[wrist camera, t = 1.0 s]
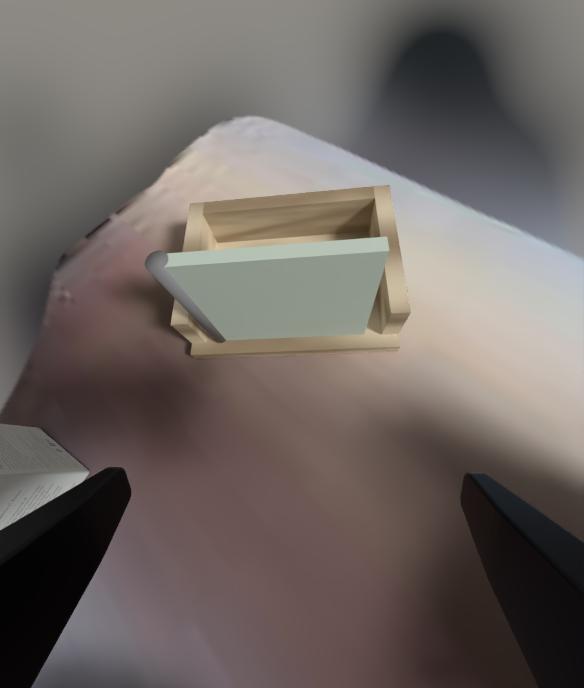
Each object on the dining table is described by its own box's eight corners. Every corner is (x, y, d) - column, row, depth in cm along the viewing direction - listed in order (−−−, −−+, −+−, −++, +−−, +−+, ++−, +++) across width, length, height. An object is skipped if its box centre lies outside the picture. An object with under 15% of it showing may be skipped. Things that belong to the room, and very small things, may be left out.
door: (364, 336, 22) (389, 254, 13) (213, 343, 23) (142, 272, 14) (363, 322, 22) (386, 233, 13) (214, 329, 23) (147, 251, 15)
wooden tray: (397, 351, 22) (413, 326, 18) (195, 359, 24) (168, 338, 20) (379, 227, 27) (389, 184, 23) (210, 241, 28) (190, 203, 24)
